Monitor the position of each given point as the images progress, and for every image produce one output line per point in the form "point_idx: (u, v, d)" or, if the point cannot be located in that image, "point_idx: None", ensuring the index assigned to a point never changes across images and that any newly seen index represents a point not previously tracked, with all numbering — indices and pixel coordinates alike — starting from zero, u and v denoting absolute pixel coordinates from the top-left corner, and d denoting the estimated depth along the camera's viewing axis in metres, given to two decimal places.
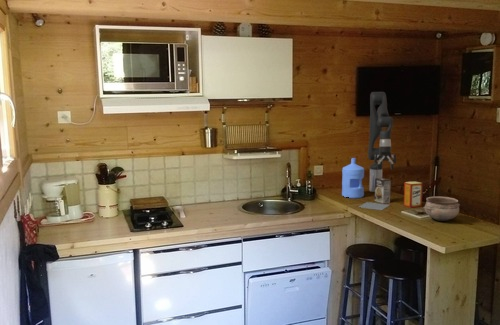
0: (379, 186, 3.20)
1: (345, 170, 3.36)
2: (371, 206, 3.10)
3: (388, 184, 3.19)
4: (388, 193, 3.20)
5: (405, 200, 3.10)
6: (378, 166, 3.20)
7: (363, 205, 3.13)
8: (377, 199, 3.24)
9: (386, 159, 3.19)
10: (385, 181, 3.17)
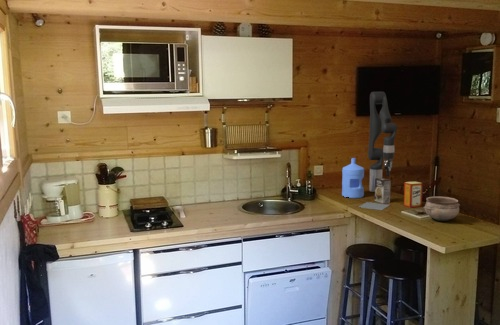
0: (379, 186, 3.20)
1: (345, 170, 3.36)
2: (371, 206, 3.10)
3: (388, 184, 3.19)
4: (388, 193, 3.20)
5: (405, 200, 3.10)
6: (388, 173, 3.29)
7: (363, 205, 3.13)
8: (377, 199, 3.24)
9: None
10: (385, 181, 3.17)
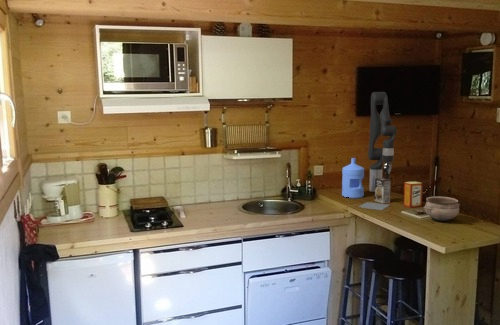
0: (379, 186, 3.20)
1: (345, 170, 3.36)
2: (371, 206, 3.10)
3: (388, 184, 3.19)
4: (388, 193, 3.20)
5: (405, 200, 3.10)
6: (388, 176, 3.28)
7: (363, 205, 3.13)
8: (377, 199, 3.24)
9: None
10: (385, 181, 3.17)
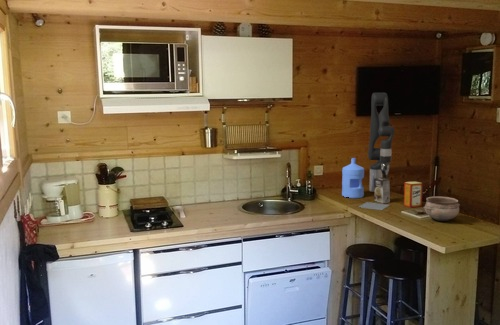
0: (378, 186, 3.20)
1: (345, 170, 3.36)
2: (371, 206, 3.10)
3: (387, 184, 3.18)
4: (388, 193, 3.19)
5: (405, 200, 3.10)
6: (385, 176, 3.24)
7: (363, 205, 3.13)
8: (377, 199, 3.23)
9: None
10: (384, 181, 3.17)
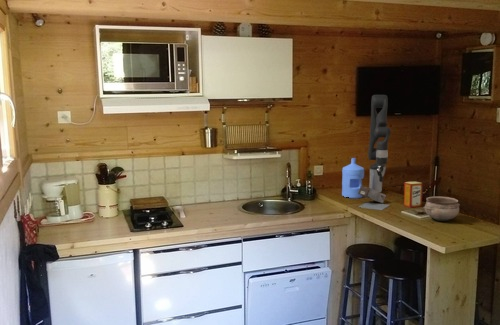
0: (367, 197, 3.17)
1: (345, 170, 3.36)
2: (371, 206, 3.10)
3: (371, 192, 3.13)
4: (378, 194, 3.16)
5: (405, 200, 3.10)
6: (382, 178, 3.18)
7: (363, 205, 3.13)
8: None
9: None
10: (367, 194, 3.12)
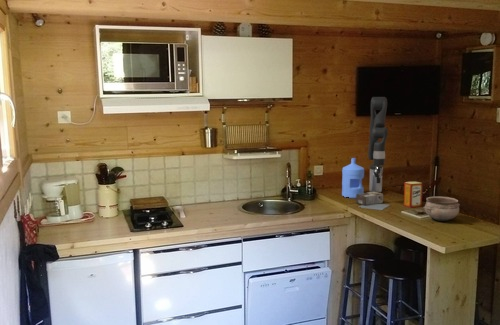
0: None
1: (345, 170, 3.36)
2: (371, 206, 3.10)
3: (368, 199, 3.13)
4: (375, 197, 3.16)
5: (405, 200, 3.10)
6: (379, 180, 3.13)
7: (363, 205, 3.13)
8: None
9: None
10: (365, 203, 3.12)
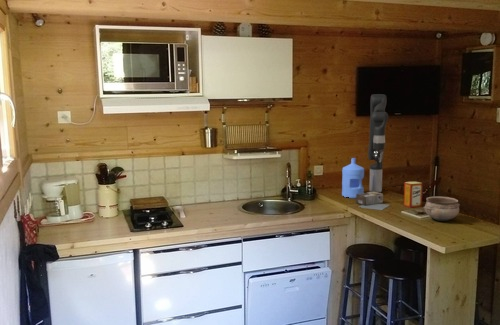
0: None
1: (345, 170, 3.36)
2: (371, 206, 3.10)
3: (368, 199, 3.13)
4: (375, 197, 3.16)
5: (405, 200, 3.10)
6: (379, 164, 3.13)
7: (363, 205, 3.13)
8: None
9: None
10: (365, 203, 3.12)
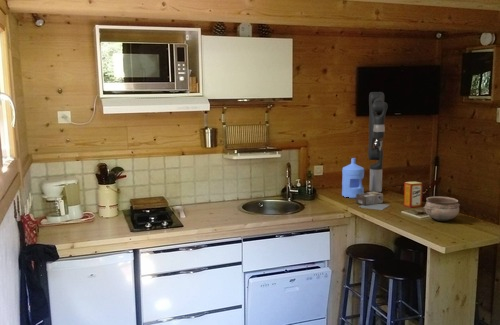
0: None
1: (345, 170, 3.36)
2: (371, 206, 3.10)
3: (368, 199, 3.13)
4: (375, 197, 3.16)
5: (405, 200, 3.10)
6: (379, 152, 3.27)
7: (363, 205, 3.13)
8: None
9: None
10: (365, 203, 3.12)
